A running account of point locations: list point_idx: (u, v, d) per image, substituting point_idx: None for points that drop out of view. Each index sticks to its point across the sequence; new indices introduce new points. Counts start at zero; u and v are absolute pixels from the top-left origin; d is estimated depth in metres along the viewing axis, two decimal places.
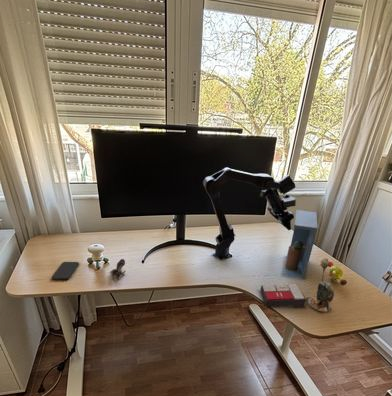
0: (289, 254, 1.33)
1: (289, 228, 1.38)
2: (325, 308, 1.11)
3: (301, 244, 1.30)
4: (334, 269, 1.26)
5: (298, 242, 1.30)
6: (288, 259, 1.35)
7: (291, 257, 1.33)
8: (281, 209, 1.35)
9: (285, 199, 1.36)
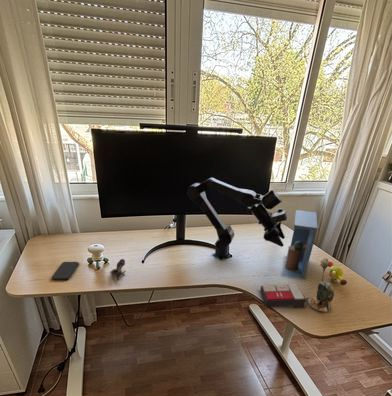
0: (289, 254, 1.33)
1: (281, 244, 1.29)
2: (325, 308, 1.11)
3: (301, 244, 1.30)
4: (334, 269, 1.26)
5: (298, 242, 1.30)
6: (288, 259, 1.35)
7: (291, 257, 1.33)
8: (269, 225, 1.29)
9: (275, 214, 1.29)
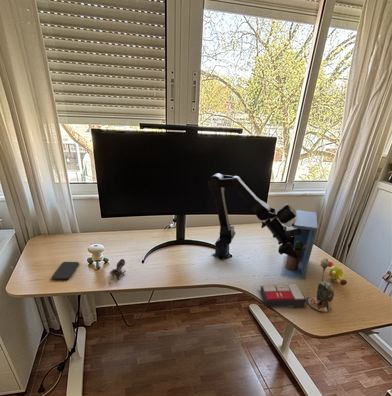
0: None
1: (295, 256, 1.31)
2: (325, 308, 1.11)
3: (301, 244, 1.30)
4: (334, 269, 1.26)
5: (298, 242, 1.30)
6: (288, 259, 1.35)
7: (291, 257, 1.33)
8: (284, 238, 1.30)
9: (290, 228, 1.30)
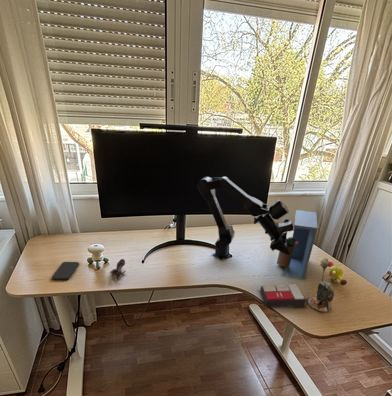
0: None
1: (287, 253, 1.32)
2: (325, 308, 1.11)
3: (293, 240, 1.30)
4: (334, 269, 1.26)
5: (290, 238, 1.31)
6: (280, 255, 1.35)
7: (283, 253, 1.33)
8: (276, 234, 1.30)
9: (282, 224, 1.30)
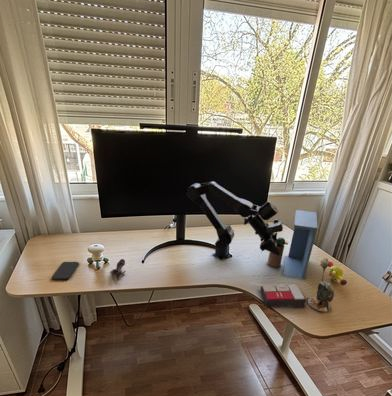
0: None
1: (277, 253, 1.33)
2: (325, 308, 1.11)
3: (283, 241, 1.32)
4: (334, 269, 1.26)
5: (280, 239, 1.32)
6: (270, 256, 1.37)
7: None
8: (265, 235, 1.32)
9: (272, 224, 1.32)
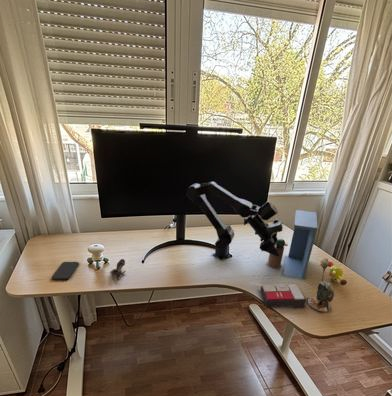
0: None
1: (276, 254, 1.32)
2: (325, 308, 1.11)
3: (283, 242, 1.32)
4: (334, 269, 1.26)
5: (280, 240, 1.33)
6: (270, 257, 1.37)
7: (273, 255, 1.35)
8: (265, 235, 1.32)
9: (271, 225, 1.32)
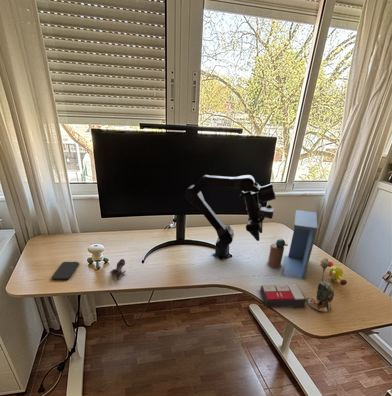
0: (271, 252, 1.36)
1: (257, 238, 1.33)
2: (325, 308, 1.11)
3: (283, 242, 1.32)
4: (334, 269, 1.26)
5: (280, 240, 1.33)
6: (270, 257, 1.37)
7: (273, 255, 1.35)
8: (255, 216, 1.30)
9: (264, 208, 1.30)
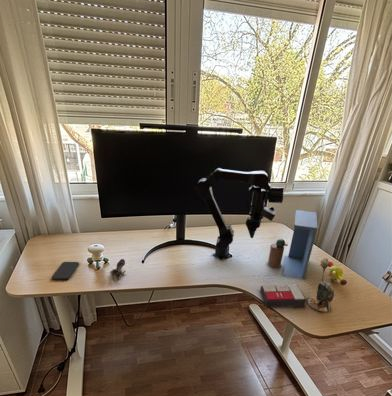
0: (271, 252, 1.36)
1: (251, 235, 1.34)
2: (325, 308, 1.11)
3: (283, 242, 1.32)
4: (334, 269, 1.26)
5: (280, 240, 1.33)
6: (270, 257, 1.37)
7: (273, 255, 1.35)
8: (257, 213, 1.30)
9: (267, 209, 1.31)
